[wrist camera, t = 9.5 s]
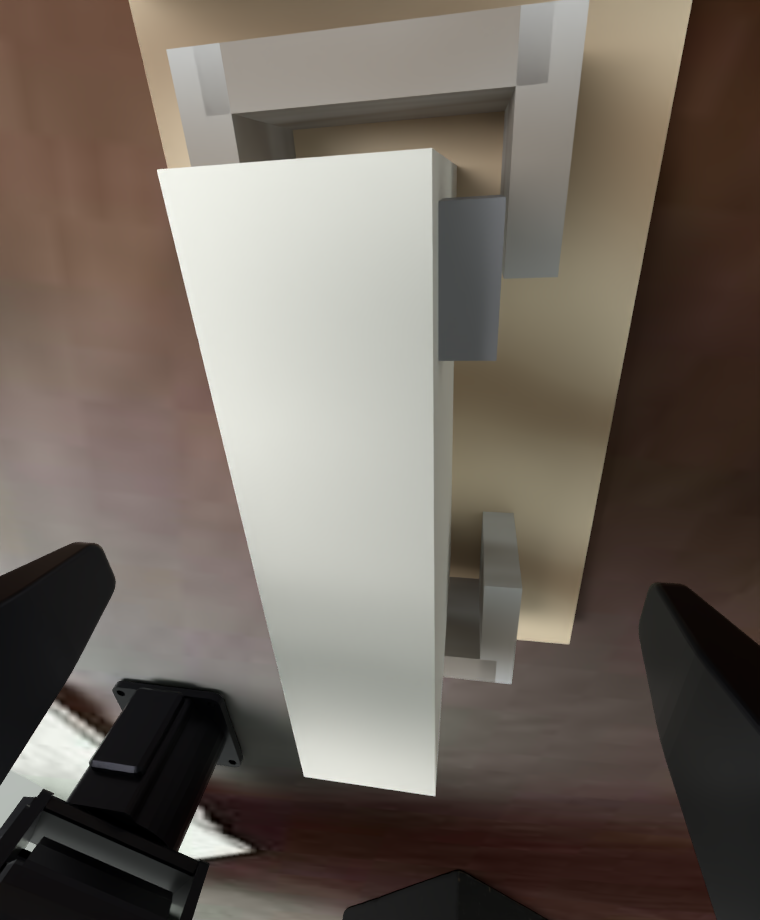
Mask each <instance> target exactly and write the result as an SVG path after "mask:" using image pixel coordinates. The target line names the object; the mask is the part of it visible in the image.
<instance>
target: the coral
mask: <svg viewBox="0 0 760 920" xmlns="http://www.w3.org/2000/svg"><path fill="white" fill-rule="evenodd" d="M343 920H547V919H545V918H543V917H541V916H540V915H537V914H536V913H535V912H533V911H531V910H529V909H527V908H525V907H524V906H522V905H520V904H518V903H517V902H515V901H513V900H511V899H509V898H508V897H506V896H504V895H503V894H501V893H499V892H498V891H496V890H494V889H492V888H491V887H489V886H487V885H485V884H484V883H482V882H480V881H478V880H476V879H474V878H473V877H471V876H470V875H468V874H466V873H464V872H462V871H453V872H451V873H449V874H446V875H441V876H439V877H436V878H433V879H431V880H427V881H425V882H422V883H419V884H416V885H413V886H411V887H408V888H405V889H402V890H399V891H397V892H394V893H392V894H389V895H387V896H383V897H380V898H379V899H375V900H372V901H369V902H366V903H364V904H360V905H357V906H354V907H351V908H348V909H346V910H345V911H344V914H343Z"/></svg>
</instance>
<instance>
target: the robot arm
mask: <svg viewBox="0 0 760 920" xmlns="http://www.w3.org/2000/svg"><path fill="white" fill-rule="evenodd" d="M115 583H116V581H115V576H114V574H113V571H112V569H111V567H110V565H109V562H108V560H107V558H106V555H105V553H104V551H103V549H102V547H101V546H99V545H98V544H95V543H84V542H75V543H71V544H69V545H67V546H65V547H63V548H60V549H58V550H56V551H54V552H52V553H50V554H47V555H45V556H43V557H41V558H39V559H37V560H34V561H32V562H30V563H28V564H26V565H24V566H21V567H19V568H17V569H15V570H13V571H11V572H8V573H6V574H4V575H2V576H0V785H1V784H2V782H3V780H4V779H5V777H6V776H7V774H8V773H9V771H10V769H11V768H12V766H13V765H14V763H15V761H16V760H17V758H18V757H19V755H20V754H21V752H22V750H23V749H24V747H25V746H26V744H27V743H28V741H29V739H30V738H31V736H32V735H33V733H34V732H35V730H36V728H37V727H38V725H39V724H40V722H41V720H42V719H43V717H44V716H45V714H46V713H47V711H48V709H49V708H50V706H51V705H52V703H53V702H54V700H55V698H56V697H57V695H58V694H59V692H60V691H61V689H62V687H63V686H64V684H65V683H66V681H67V679H68V678H69V676H70V674H71V673H72V671H73V669H74V667H75V665H76V664H77V662H78V660H79V658H80V656H81V654H82V652H83V650H84V648H85V646H86V645H87V643H88V641H89V639H90V637H91V635H92V633H93V631H94V629H95V627H96V625H97V623H98V621H99V619H100V617H101V615H102V614H103V612H104V610H105V608H106V606H107V604H108V602H109V600H110V598H111V596H112V594H113V592H114V589H115ZM639 639H640V644H641V649H642V654H643V659H644V664H645V669H646V674H647V678H648V683H649V688H650V693H651V698H652V703H653V708H654V713H655V718H656V723H657V728H658V732H659V737H660V741H661V745H662V748H663V752H664V755H665V759H666V762H667V765H668V768H669V771H670V775H671V778H672V781H673V784H674V787H675V790H676V793H677V796H678V800H679V803H680V806H681V809H682V812H683V815H684V818H685V821H686V825H687V828H688V831H689V834H690V837H691V840H692V843H693V846H694V850H695V853H696V856H697V859H698V862H699V865H700V868H701V871H702V875H703V878H704V881H705V884H706V887H707V890H708V893H709V896H710V900H711V903H712V906H713V909H714V912H715V915H716V918H717V920H760V645H758V644H757V643H756V642H755V641H753V640H752V639H751V638H750V637H749V636H747V635H746V634H745V633H744V632H742V631H741V630H740V629H739V628H737V627H736V626H735V625H734V624H733V623H731V622H730V621H729V620H728V619H726V618H725V617H724V616H723V615H721V614H720V613H719V612H718V611H717V610H715V609H714V608H713V607H712V606H710V605H709V604H708V603H707V602H706V601H704V600H703V599H702V598H701V597H699V596H698V595H697V594H696V593H694V592H693V591H692V590H691V589H689V588H688V587H687V586H685V585H682V584H675V583H661V582H656V583H653V584H652V585H651V586H650V588H649V590H648V593H647V597H646V600H645V604H644V607H643V611H642V614H641V618H640V621H639ZM112 691H113V693H114V695H115V697H116V699H117V701H118V703H119V705H120V707H121V709H122V712H121V714H120V715H119V717H118V719H117V720H116V722H115V723H114V725H113V726H112V728H111V729H110V731H109V732H108V734H107V735H106V737H105V738H104V740H103V741H102V743H101V744H100V746H99V747H98V749H97V750H96V752H95V753H94V755H93V756H92V758H91V759H90V762H89V767H88V768H87V770H86V772H85V773H84V775H83V776H82V778H81V779H80V781H79V782H78V784H77V785H76V787H75V788H74V790H73V791H72V793H71V794H70V796H69V797H68V799H67V800H66V801H64V800H61V799H59V798H57V797H55V796H53V795H54V793H52V792H50V791H48V790H45V789H43V790H42V791H41V792H40V794H39V795H38V796H37V797H23V798H22V800H21V801H20V802H19V804H18V805H17V807H16V808H15V809H14V811H13V812H12V813H11V815H10V816H9V818H8V819H7V820H6V822H5V823H4V824H3V826H2V827H1V828H0V920H192V918H193V915H194V912H195V909H196V905H197V902H198V899H199V896H200V893H201V889H202V886H203V883H204V880H205V877H206V874H207V870H208V867H209V863H208V862H205V861H203V860H201V859H199V860H198V861H197V860H195V859H193V858H191V857H188V856H186V855H184V854H182V853H179V852H178V850H179V848H180V846H181V844H182V841H183V839H184V837H185V834H186V832H187V830H188V828H189V825H190V823H191V821H192V819H193V816H194V814H195V812H196V809H197V807H198V805H199V803H200V800H201V798H202V796H203V794H204V791H205V789H206V787H207V785H208V782H209V780H210V778H211V775H212V773H213V771H214V769H215V766H216V764H217V765H224V766H231V767H239V766H240V765H241V762H242V760H243V755H242V752H241V749H240V746H239V743H238V741H237V738H236V735H235V732H234V729H233V726H232V723H231V720H230V717H229V714H228V711H227V708H226V705H225V702H224V699H223V698H222V696H221V695H219V694H217V693H214V692H208V691H199V690H191V689H183V688H175V687H167V686H158V685H150V684H142V683H134V682H126V681H119V682H117V684H116V685H115V687H114V688H113V690H112ZM29 842H32V843H34V844H36V847H35V848H34V850H33V851H32V852H30V851H28V850H25V848H26V846H27V844H28V843H29Z"/></svg>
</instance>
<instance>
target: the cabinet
mask: <svg viewBox="0 0 760 920" xmlns="http://www.w3.org/2000/svg"><path fill="white" fill-rule="evenodd" d="M129 4H130V8H131V12H132V16H133V21H134V25H135V29H136V34H137V38H138V42H139V47H140V51H141V55H142V59H143V64H144V68H145V72H146V77H147V81H148V85H149V90H150V94H151V98H152V102H153V107H154V111H155V115H156V120H157V124H158V128H159V133H160V137H161V141H162V145H163V150H164V154H165V158H166V163H167V167H168V169H171V168H183V167H196V166H209V165H222V164H234V163H247V162H260V161H273V160H285V159H298V158H311V157H324V156H336V155H349V154H362V153H375V152H387V151H400V150H413V149H426V148H433V149H434V150H436V151H437V152H438V153H440V154H441V155H443V156H444V157H445V158H447V159H448V160H450V161H451V162H453V163H454V164H455V165H457V196H456V197H471V196H487V195H504V196H505V197H506V210H505V227H504V244H503V260H502V277H501V294H500V310H499V327H498V343H497V360H496V361H454V382H453V444H452V506H451V559H450V574H449V590H448V606H447V622H446V637H445V653H444V669H443V677H448V678H457V679H467V680H476V681H485V682H495V683H504V684H512V676H513V667H514V658H515V649H516V640H526V641H537V642H548V643H559V644H569V643H570V637H571V632H572V627H573V622H574V616H575V611H576V606H577V601H578V595H579V590H580V585H581V580H582V575H583V569H584V564H585V559H586V554H587V548H588V543H589V538H590V533H591V528H592V522H593V517H594V512H595V507H596V501H597V496H598V491H599V486H600V481H601V475H602V470H603V465H604V460H605V454H606V449H607V444H608V439H609V433H610V428H611V423H612V418H613V413H614V407H615V402H616V397H617V392H618V386H619V381H620V376H621V371H622V366H623V360H624V355H625V350H626V345H627V339H628V334H629V329H630V324H631V319H632V313H633V308H634V303H635V298H636V292H637V287H638V282H639V277H640V271H641V266H642V261H643V256H644V251H645V245H646V240H647V235H648V230H649V224H650V219H651V214H652V209H653V204H654V198H655V193H656V188H657V183H658V177H659V172H660V167H661V162H662V157H663V151H664V146H665V141H666V136H667V130H668V125H669V120H670V115H671V109H672V104H673V99H674V94H675V89H676V83H677V78H678V73H679V68H680V62H681V57H682V52H683V47H684V42H685V36H686V31H687V26H688V21H689V15H690V10H691V5H692V0H129Z"/></svg>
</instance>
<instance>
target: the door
mask: <svg viewBox="0 0 760 920" xmlns="http://www.w3.org/2000/svg"><path fill="white" fill-rule="evenodd" d="M157 172H158V177H159V181H160V185H161V189H162V193H163V197H164V201H165V205H166V210H167V214H168V218H169V222H170V226H171V230H172V234H173V238H174V243H175V247H176V251H177V255H178V259H179V263H180V267H181V271H182V276H183V280H184V284H185V288H186V292H187V296H188V300H189V304H190V309H191V313H192V317H193V321H194V325H195V329H196V333H197V337H198V341H199V346H200V350H201V354H202V358H203V362H204V366H205V370H206V374H207V379H208V383H209V387H210V391H211V395H212V399H213V403H214V407H215V412H216V416H217V420H218V424H219V428H220V432H221V436H222V440H223V445H224V449H225V453H226V457H227V461H228V465H229V469H230V473H231V478H232V482H233V486H234V490H235V494H236V498H237V502H238V506H239V511H240V515H241V519H242V523H243V527H244V531H245V535H246V539H247V544H248V548H249V552H250V556H251V560H252V564H253V568H254V572H255V577H256V581H257V585H258V589H259V593H260V597H261V601H262V605H263V610H264V614H265V618H266V622H267V626H268V630H269V634H270V638H271V643H272V647H273V651H274V655H275V659H276V663H277V667H278V671H279V675H280V680H281V684H282V688H283V692H284V696H285V700H286V704H287V708H288V713H289V717H290V721H291V725H292V729H293V733H294V737H295V741H296V746H297V750H298V754H299V758H300V762H301V766H302V770H303V774H304V777H309V778H316V779H322V780H329V781H336V782H342V783H349V784H356V785H363V786H369V787H376V788H383V789H389V790H396V791H403V792H410V793H416V794H423V795H430V796H435V795H436V779H437V763H438V748H439V732H440V716H441V700H442V685H443V669H444V653H445V637H446V622H447V606H448V590H449V574H450V559H451V506H452V444H453V382H454V361H496V360H497V343H498V327H499V310H500V294H501V277H502V260H503V244H504V227H505V210H506V197H505V196H504V195H487V196H471V197H456V196H457V165H455V164H454V163H453V162H451V161H450V160H448V159H447V158H445V157H444V156H443V155H441V154H440V153H438V152H437V151H436V150H434V149H433V148H426V149H413V150H400V151H387V152H375V153H362V154H349V155H336V156H324V157H311V158H298V159H285V160H273V161H260V162H247V163H234V164H222V165H209V166H196V167H183V168H171V169H158V170H157Z"/></svg>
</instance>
